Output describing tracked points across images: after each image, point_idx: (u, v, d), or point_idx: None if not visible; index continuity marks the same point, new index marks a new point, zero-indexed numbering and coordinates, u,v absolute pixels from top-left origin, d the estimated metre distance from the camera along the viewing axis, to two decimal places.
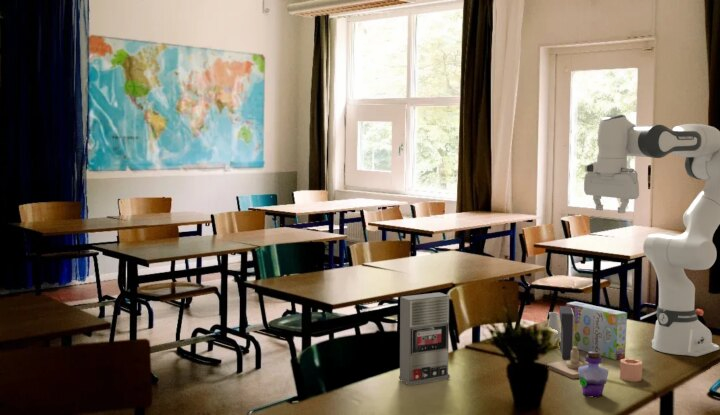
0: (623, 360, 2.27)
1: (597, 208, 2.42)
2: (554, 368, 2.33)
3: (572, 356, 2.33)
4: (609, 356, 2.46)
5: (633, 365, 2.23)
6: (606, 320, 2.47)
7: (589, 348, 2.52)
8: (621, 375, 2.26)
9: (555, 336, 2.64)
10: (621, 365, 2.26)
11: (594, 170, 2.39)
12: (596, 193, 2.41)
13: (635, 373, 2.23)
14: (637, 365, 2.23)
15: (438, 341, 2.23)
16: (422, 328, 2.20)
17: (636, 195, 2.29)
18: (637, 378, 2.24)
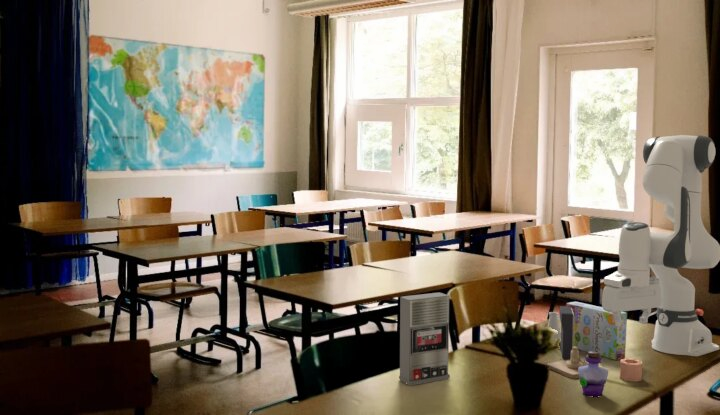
0: (623, 360, 2.27)
1: (621, 324, 2.22)
2: (554, 368, 2.33)
3: (572, 356, 2.33)
4: (609, 356, 2.46)
5: (633, 365, 2.23)
6: (606, 320, 2.47)
7: (589, 348, 2.52)
8: (621, 375, 2.26)
9: (555, 336, 2.64)
10: (621, 365, 2.26)
11: (633, 284, 2.19)
12: (625, 308, 2.21)
13: (635, 373, 2.23)
14: (637, 365, 2.23)
15: (438, 341, 2.23)
16: (422, 328, 2.20)
17: None
18: (637, 378, 2.24)
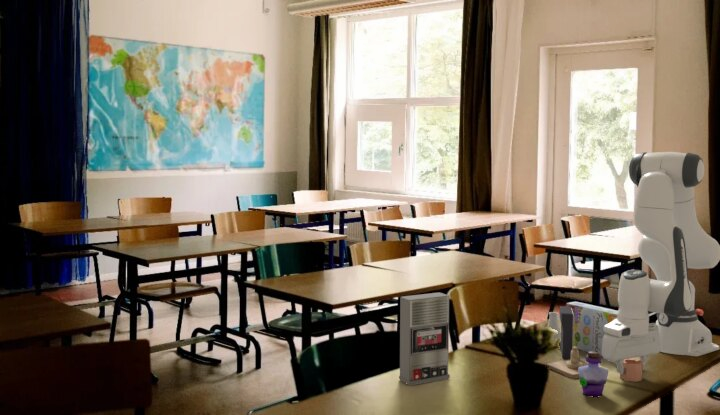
0: None
1: (624, 372, 2.24)
2: (554, 368, 2.33)
3: (572, 356, 2.33)
4: None
5: (633, 365, 2.23)
6: (606, 320, 2.47)
7: (589, 348, 2.52)
8: (621, 375, 2.26)
9: (555, 336, 2.64)
10: None
11: (632, 333, 2.20)
12: (625, 357, 2.22)
13: (635, 373, 2.23)
14: (637, 365, 2.23)
15: (438, 341, 2.23)
16: (422, 328, 2.20)
17: None
18: (637, 378, 2.24)
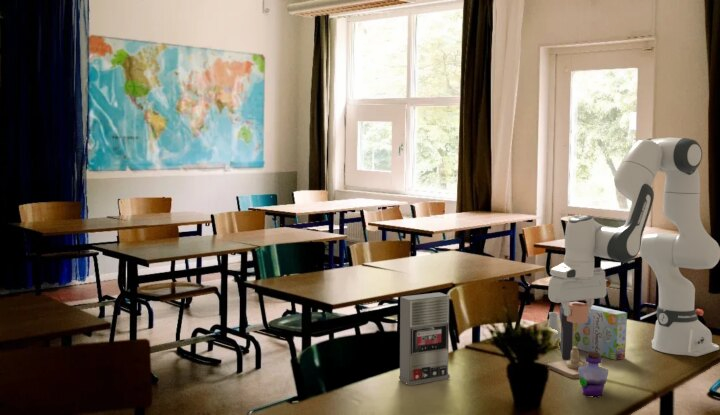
0: (570, 303, 2.32)
1: (570, 314, 2.29)
2: (554, 368, 2.33)
3: (572, 356, 2.33)
4: (609, 356, 2.46)
5: (579, 307, 2.28)
6: (606, 320, 2.47)
7: (589, 348, 2.52)
8: (568, 318, 2.31)
9: (555, 336, 2.64)
10: None
11: (578, 275, 2.26)
12: (571, 299, 2.28)
13: (581, 314, 2.28)
14: (583, 307, 2.29)
15: (438, 341, 2.23)
16: (422, 328, 2.20)
17: None
18: (583, 320, 2.29)
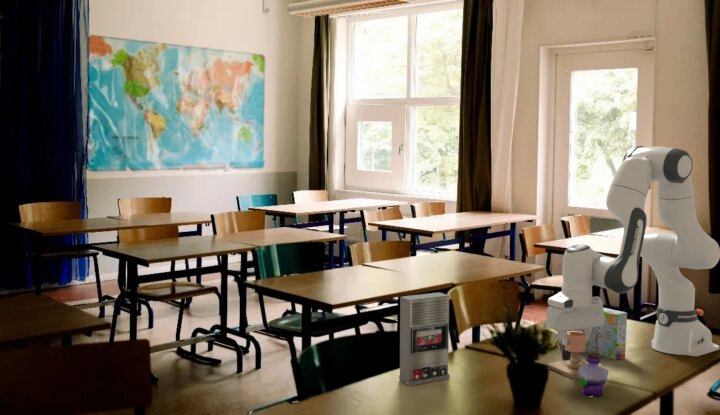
0: (568, 332, 2.34)
1: (567, 343, 2.30)
2: (554, 368, 2.33)
3: (572, 356, 2.33)
4: (609, 356, 2.46)
5: (576, 336, 2.30)
6: (606, 320, 2.47)
7: (589, 348, 2.52)
8: (565, 347, 2.32)
9: (555, 336, 2.64)
10: None
11: (575, 305, 2.27)
12: (568, 328, 2.29)
13: (578, 344, 2.30)
14: (580, 336, 2.30)
15: (438, 341, 2.23)
16: (422, 328, 2.20)
17: None
18: (580, 349, 2.30)
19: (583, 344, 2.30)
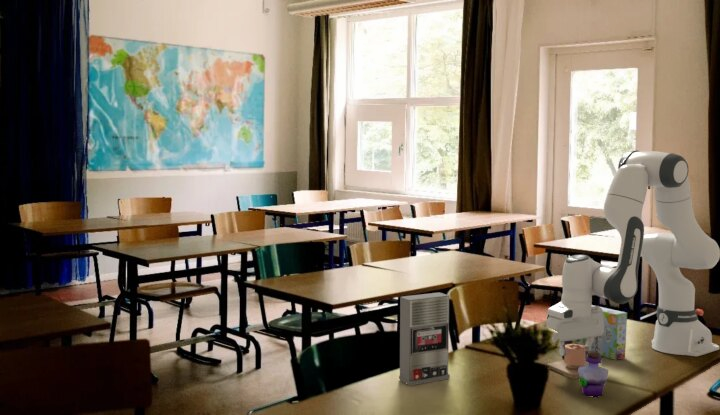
0: (567, 345, 2.34)
1: (565, 353, 2.31)
2: (554, 368, 2.33)
3: None
4: (609, 356, 2.46)
5: (576, 350, 2.30)
6: (606, 320, 2.47)
7: None
8: (565, 360, 2.33)
9: None
10: None
11: (575, 315, 2.27)
12: (568, 338, 2.29)
13: (578, 357, 2.30)
14: (580, 350, 2.30)
15: (438, 341, 2.23)
16: (422, 328, 2.20)
17: None
18: (580, 362, 2.31)
19: (583, 357, 2.31)
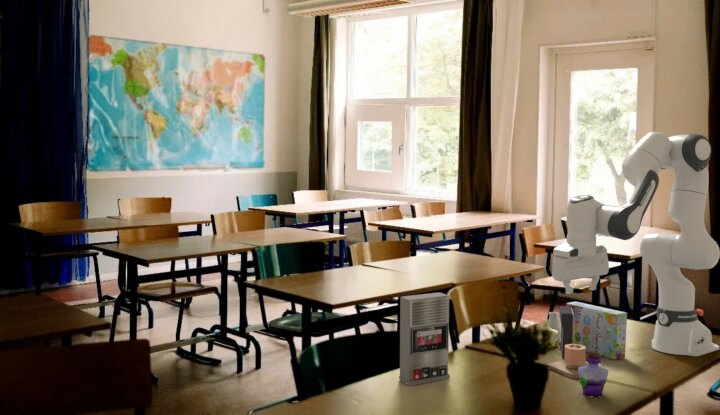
0: (567, 345, 2.34)
1: (571, 292, 2.35)
2: (554, 368, 2.33)
3: None
4: (609, 356, 2.46)
5: (576, 350, 2.30)
6: (606, 320, 2.47)
7: (589, 348, 2.52)
8: (565, 360, 2.33)
9: (555, 336, 2.64)
10: (565, 350, 2.33)
11: (580, 254, 2.32)
12: (574, 277, 2.34)
13: (578, 357, 2.30)
14: (580, 350, 2.30)
15: (438, 341, 2.23)
16: (422, 328, 2.20)
17: None
18: (580, 362, 2.31)
19: (583, 357, 2.31)
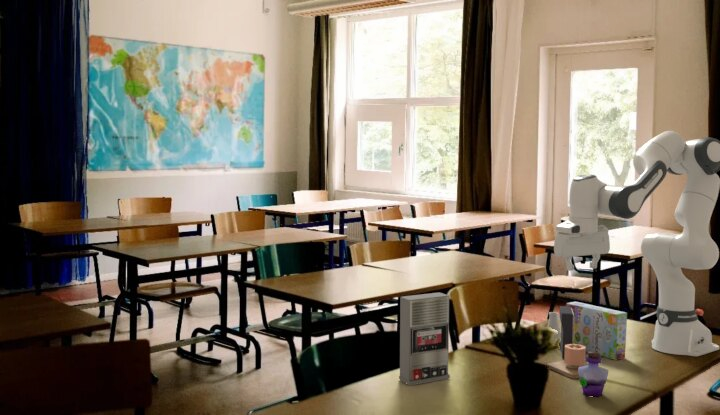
0: (567, 345, 2.34)
1: (572, 268, 2.41)
2: (554, 368, 2.33)
3: None
4: (609, 356, 2.46)
5: (576, 350, 2.30)
6: (606, 320, 2.47)
7: (589, 348, 2.52)
8: (565, 360, 2.33)
9: (555, 336, 2.64)
10: (565, 350, 2.33)
11: (582, 231, 2.37)
12: (575, 253, 2.39)
13: (578, 357, 2.30)
14: (580, 350, 2.30)
15: (438, 341, 2.23)
16: (422, 328, 2.20)
17: None
18: (580, 362, 2.31)
19: (583, 357, 2.31)
